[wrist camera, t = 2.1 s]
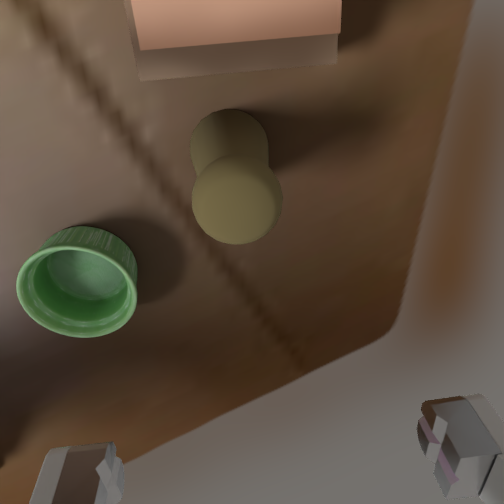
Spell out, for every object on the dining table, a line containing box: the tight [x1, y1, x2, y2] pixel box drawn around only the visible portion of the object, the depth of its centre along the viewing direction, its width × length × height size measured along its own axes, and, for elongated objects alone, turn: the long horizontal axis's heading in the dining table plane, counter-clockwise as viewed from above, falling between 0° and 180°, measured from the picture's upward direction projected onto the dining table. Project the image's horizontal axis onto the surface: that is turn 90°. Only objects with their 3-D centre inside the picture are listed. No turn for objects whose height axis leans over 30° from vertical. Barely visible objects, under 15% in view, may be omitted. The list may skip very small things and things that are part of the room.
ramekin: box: [16, 226, 137, 338], centre depth 34 cm, size 9×9×4 cm
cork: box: [190, 109, 283, 244], centre depth 27 cm, size 6×6×11 cm
